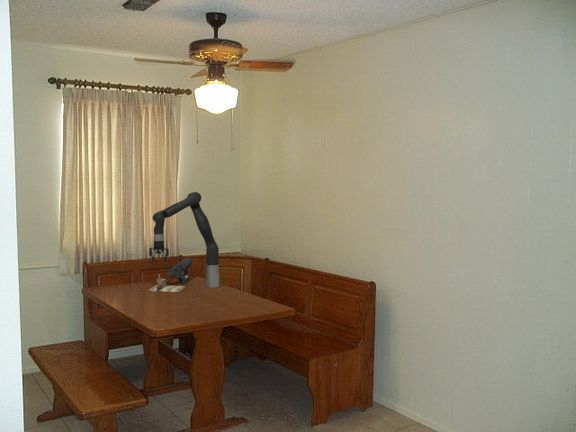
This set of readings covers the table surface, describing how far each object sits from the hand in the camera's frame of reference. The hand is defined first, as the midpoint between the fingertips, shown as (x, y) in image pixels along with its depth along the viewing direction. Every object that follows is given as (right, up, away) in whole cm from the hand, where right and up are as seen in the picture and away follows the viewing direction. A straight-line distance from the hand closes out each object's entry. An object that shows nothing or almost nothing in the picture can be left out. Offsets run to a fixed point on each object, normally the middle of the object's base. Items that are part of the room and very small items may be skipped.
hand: (159, 261), depth 402 cm
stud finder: (0, -20, +10) cm, 22 cm away
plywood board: (+5, -21, +6) cm, 23 cm away
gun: (+11, -20, +25) cm, 34 cm away
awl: (0, -20, +2) cm, 20 cm away
